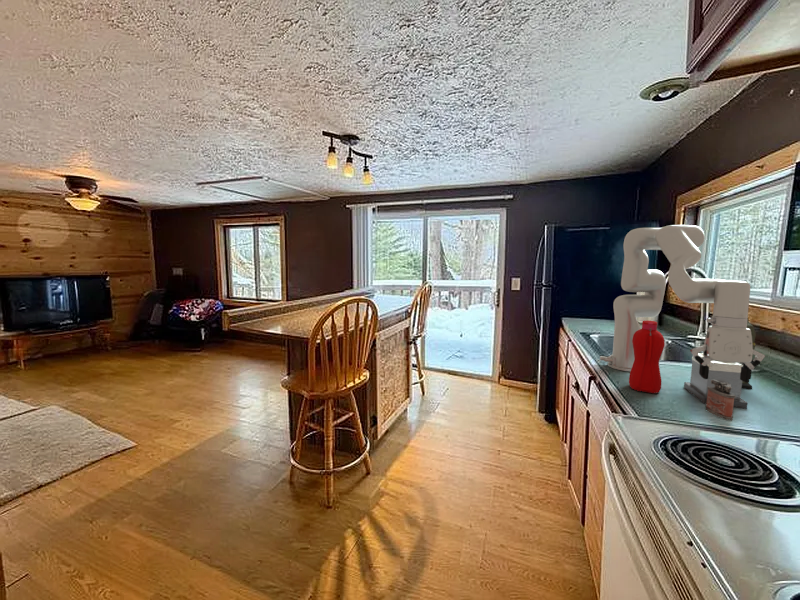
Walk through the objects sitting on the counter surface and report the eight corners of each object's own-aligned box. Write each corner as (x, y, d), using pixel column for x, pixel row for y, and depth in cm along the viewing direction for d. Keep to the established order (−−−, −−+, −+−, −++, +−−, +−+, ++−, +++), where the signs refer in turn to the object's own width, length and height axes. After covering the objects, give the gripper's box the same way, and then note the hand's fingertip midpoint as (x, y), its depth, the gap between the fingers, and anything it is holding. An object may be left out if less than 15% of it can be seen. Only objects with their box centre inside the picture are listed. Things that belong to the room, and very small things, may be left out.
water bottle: (630, 392, 125) (636, 322, 123) (627, 383, 135) (632, 318, 132) (662, 397, 121) (669, 325, 118) (657, 387, 131) (663, 320, 128)
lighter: (736, 420, 104) (740, 387, 103) (724, 420, 104) (728, 387, 103) (712, 408, 112) (716, 378, 111) (701, 408, 112) (705, 377, 111)
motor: (704, 403, 116) (708, 363, 114) (683, 387, 131) (687, 351, 129) (747, 408, 112) (752, 367, 111) (721, 391, 127) (725, 354, 126)
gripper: (699, 323, 104) (694, 380, 106) (775, 326, 98) (769, 386, 100) (688, 319, 111) (683, 373, 113) (758, 322, 105) (753, 378, 107)
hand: (723, 379), depth 106 cm, fingers open, 9 cm apart
